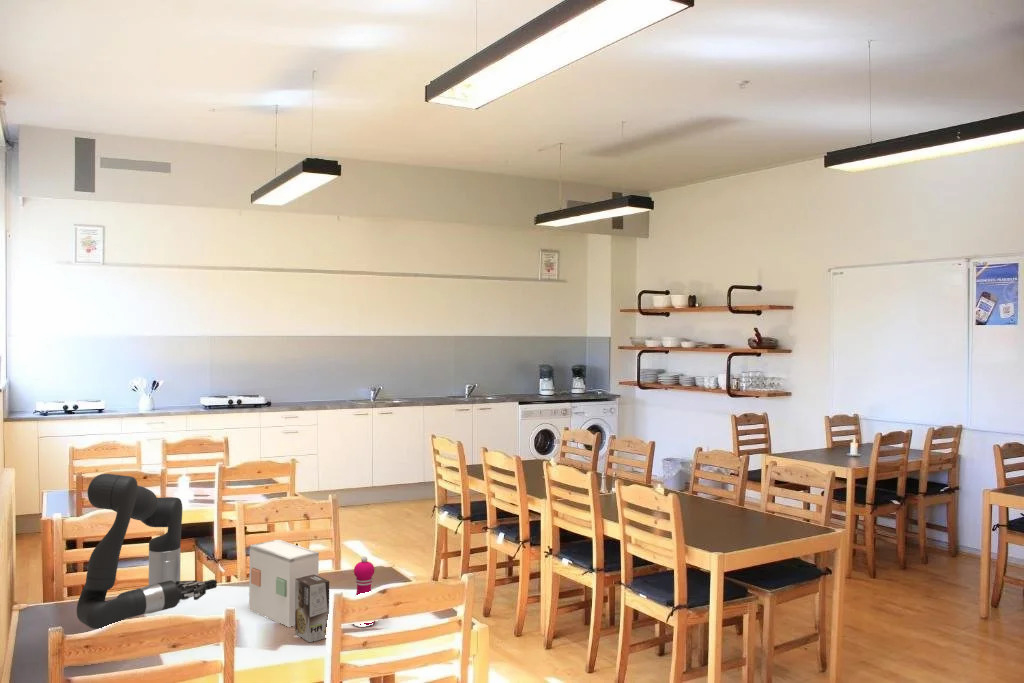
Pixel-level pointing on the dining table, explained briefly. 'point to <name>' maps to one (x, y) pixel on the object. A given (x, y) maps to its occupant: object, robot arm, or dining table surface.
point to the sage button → (281, 587)
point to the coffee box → (311, 607)
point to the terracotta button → (256, 577)
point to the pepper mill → (364, 577)
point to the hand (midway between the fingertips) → (215, 583)
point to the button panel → (283, 564)
